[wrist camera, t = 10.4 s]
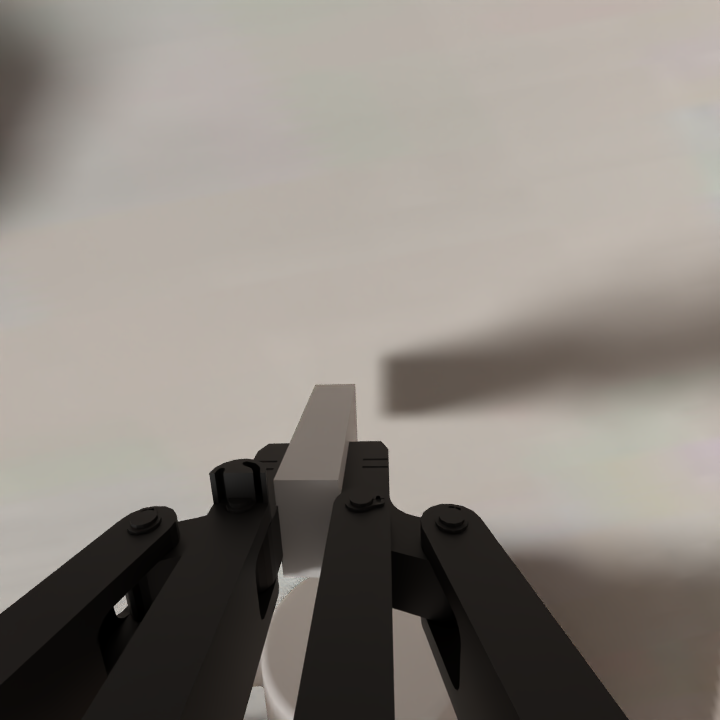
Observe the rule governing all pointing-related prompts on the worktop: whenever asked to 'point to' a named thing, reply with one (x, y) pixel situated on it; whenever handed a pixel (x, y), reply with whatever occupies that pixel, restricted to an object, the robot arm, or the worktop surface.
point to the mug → (288, 647)
